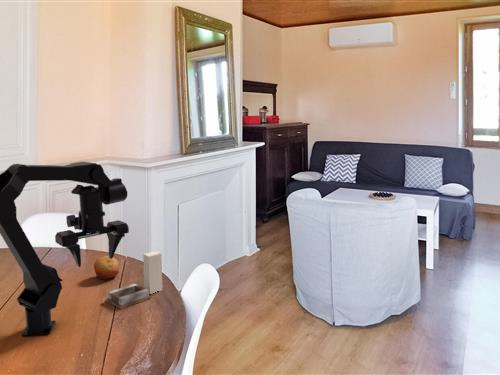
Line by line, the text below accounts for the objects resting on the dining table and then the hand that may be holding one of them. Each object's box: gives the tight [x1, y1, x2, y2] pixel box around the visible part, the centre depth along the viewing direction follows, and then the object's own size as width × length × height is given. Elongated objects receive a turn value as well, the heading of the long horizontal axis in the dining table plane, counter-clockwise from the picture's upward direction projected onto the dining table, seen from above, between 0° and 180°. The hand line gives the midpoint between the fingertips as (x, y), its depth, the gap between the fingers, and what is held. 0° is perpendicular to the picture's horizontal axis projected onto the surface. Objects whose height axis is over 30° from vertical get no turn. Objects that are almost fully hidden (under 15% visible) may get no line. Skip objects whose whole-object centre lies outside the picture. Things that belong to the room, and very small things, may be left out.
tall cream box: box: [142, 250, 163, 295], centre depth 134 cm, size 4×3×12 cm, turn 136°
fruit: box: [93, 255, 120, 281], centre depth 145 cm, size 8×8×8 cm
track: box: [105, 283, 152, 310], centre depth 128 cm, size 10×8×3 cm
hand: (95, 262), depth 122 cm, fingers open, 9 cm apart
